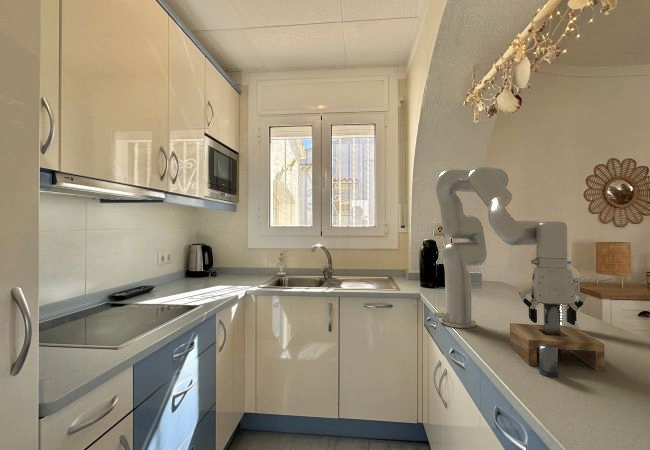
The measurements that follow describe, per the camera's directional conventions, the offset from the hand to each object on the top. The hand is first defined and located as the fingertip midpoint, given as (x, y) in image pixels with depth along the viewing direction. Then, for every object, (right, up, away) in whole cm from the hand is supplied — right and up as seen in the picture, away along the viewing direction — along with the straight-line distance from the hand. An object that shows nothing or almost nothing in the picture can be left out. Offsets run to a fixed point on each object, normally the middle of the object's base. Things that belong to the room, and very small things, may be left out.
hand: (552, 322), depth 99 cm
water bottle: (+23, -10, +26) cm, 36 cm away
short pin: (-9, -10, -11) cm, 17 cm away
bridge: (0, -10, 0) cm, 10 cm away
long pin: (0, -10, 0) cm, 10 cm away
